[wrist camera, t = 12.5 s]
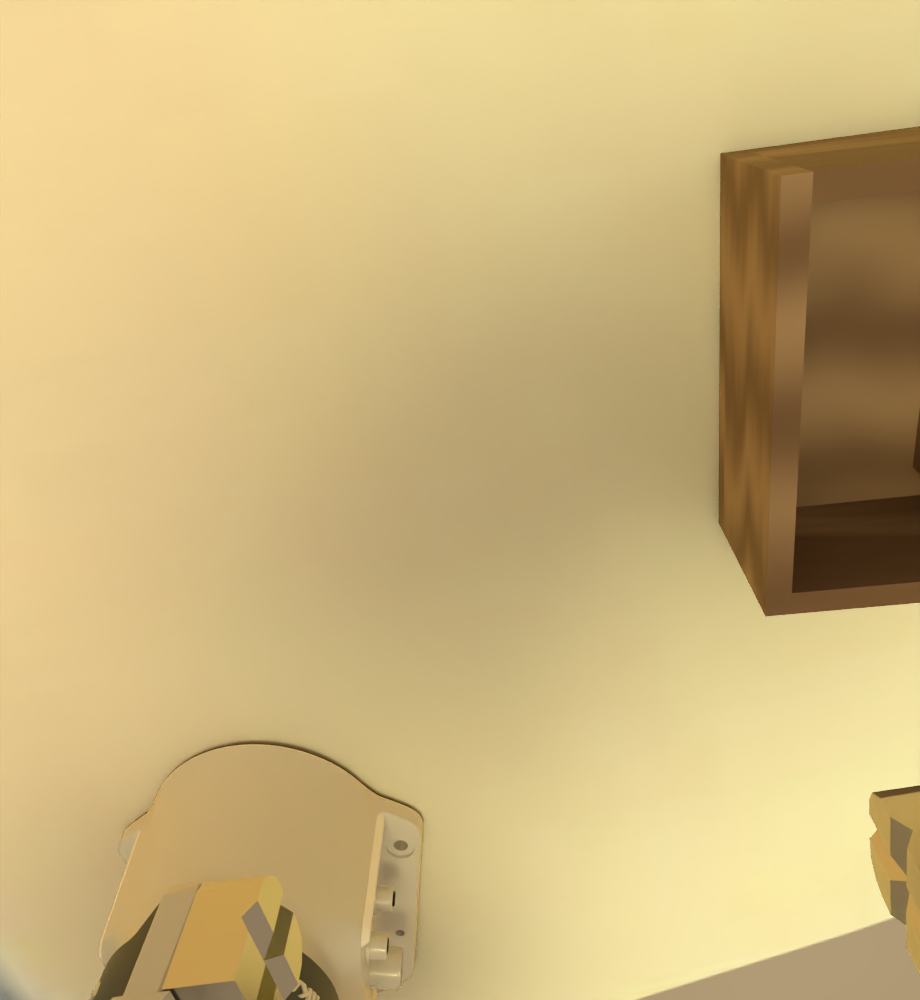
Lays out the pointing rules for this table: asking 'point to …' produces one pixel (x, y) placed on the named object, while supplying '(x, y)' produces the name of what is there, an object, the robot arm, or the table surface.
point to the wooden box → (822, 370)
